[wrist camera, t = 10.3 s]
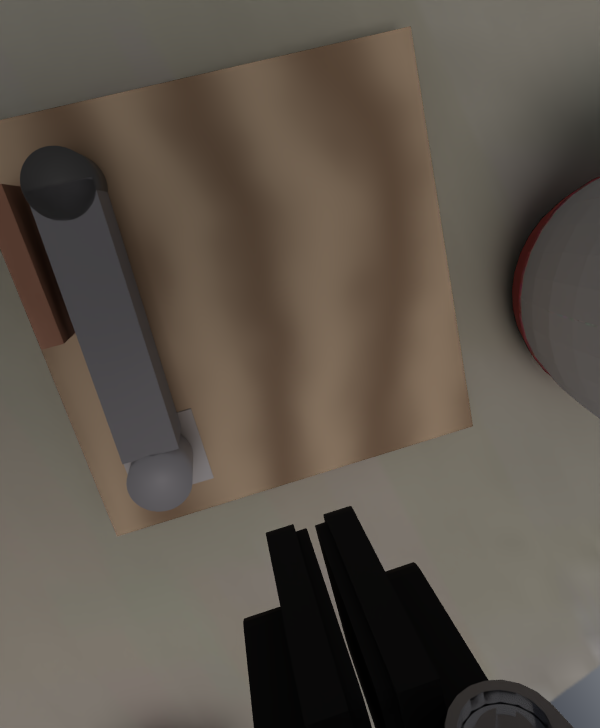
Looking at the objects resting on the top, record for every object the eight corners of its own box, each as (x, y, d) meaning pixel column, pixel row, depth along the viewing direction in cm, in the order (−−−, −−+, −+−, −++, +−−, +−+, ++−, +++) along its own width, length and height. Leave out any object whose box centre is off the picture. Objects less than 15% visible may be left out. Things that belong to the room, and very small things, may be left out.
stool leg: (200, 474, 30) (199, 501, 28) (143, 490, 30) (137, 519, 27) (98, 146, 25) (85, 138, 22) (28, 161, 25) (6, 154, 22)
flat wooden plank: (121, 517, 33) (107, 575, 28) (-30, 136, 26) (-87, 118, 21) (458, 414, 35) (503, 449, 30) (396, 38, 28) (440, -1, 23)
